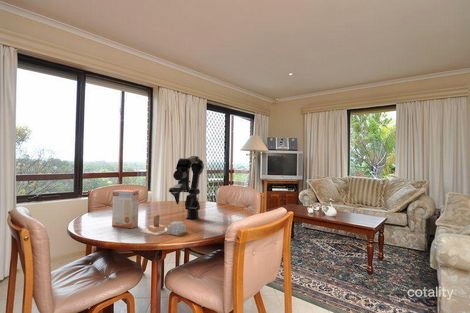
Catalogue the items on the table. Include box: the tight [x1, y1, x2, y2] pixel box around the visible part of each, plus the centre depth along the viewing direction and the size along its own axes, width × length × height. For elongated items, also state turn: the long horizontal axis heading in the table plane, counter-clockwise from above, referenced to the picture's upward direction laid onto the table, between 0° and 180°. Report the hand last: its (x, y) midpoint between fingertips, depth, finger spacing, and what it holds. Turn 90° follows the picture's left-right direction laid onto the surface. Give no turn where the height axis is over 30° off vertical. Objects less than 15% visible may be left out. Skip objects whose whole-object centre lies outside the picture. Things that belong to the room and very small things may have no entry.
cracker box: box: [111, 189, 140, 229], centre depth 145 cm, size 14×6×21 cm, turn 71°
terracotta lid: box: [147, 214, 166, 232], centre depth 138 cm, size 7×7×8 cm
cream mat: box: [139, 227, 167, 236], centre depth 138 cm, size 12×12×1 cm
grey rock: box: [166, 220, 187, 236], centre depth 135 cm, size 7×7×6 cm
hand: (183, 204), depth 151 cm, fingers open, 9 cm apart
